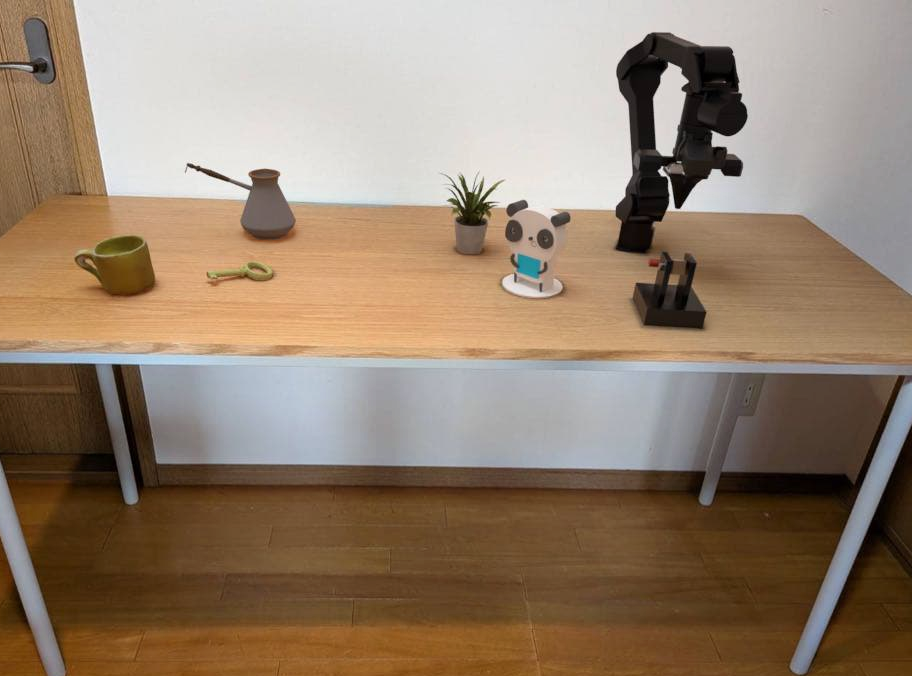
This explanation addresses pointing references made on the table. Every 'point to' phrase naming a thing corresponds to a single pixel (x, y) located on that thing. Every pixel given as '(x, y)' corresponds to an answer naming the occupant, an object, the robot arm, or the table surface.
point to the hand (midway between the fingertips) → (677, 208)
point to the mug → (120, 264)
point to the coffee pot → (261, 204)
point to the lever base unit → (670, 298)
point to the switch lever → (677, 266)
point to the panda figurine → (534, 249)
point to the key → (244, 272)
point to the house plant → (471, 216)
